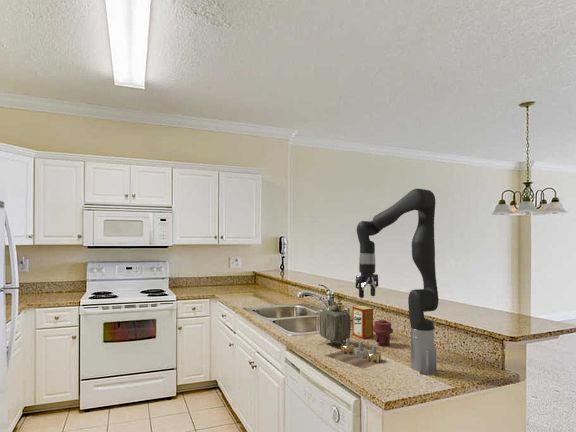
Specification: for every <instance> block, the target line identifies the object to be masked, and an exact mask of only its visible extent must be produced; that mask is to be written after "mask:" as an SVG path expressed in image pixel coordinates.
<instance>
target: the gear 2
mask: <svg viewBox="0 0 576 432" xmlns="http://www.w3.org/2000/svg"><path fill="white" fill-rule="evenodd" d="M381 359H382V352H378V351H376V354H372V350H371V351H368V352H367V361H370V362H372V363H373V362H376V363H378V364H380V363H379V362H381ZM381 363H382V362H381Z"/></svg>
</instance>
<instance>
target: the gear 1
mask: <svg viewBox="0 0 576 432" xmlns="http://www.w3.org/2000/svg"><path fill="white" fill-rule="evenodd" d="M343 342H344V344H341V345H340V351H341V352H342V353H343V354H354V349H355V348H356V347H355V345H354V344H351V343H350V346H346V340H344V341H343Z"/></svg>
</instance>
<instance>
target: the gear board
mask: <svg viewBox="0 0 576 432" xmlns="http://www.w3.org/2000/svg"><path fill="white" fill-rule="evenodd" d="M350 344H351V343H350V338H347V339H346V346H350ZM358 348H359V350H362V348H363V342H362V341H359V342H358ZM371 351H372V354H376V352H377V347H376V345H372V346H371ZM324 356H325V357H327V358H331V359H334V360H336V361H339V362H342V363H345V364H348V365H351V366H354V367H356V368H360V369H366V368H369V367H371V366H375V365H378V364H381V363H384V362H386V361H387V360H385V359H382V358H381V362H379V363H376V362H373V363H372V362H370V361H367V358H356V357H355V356H354V354H343V353H342V352H341V350H340V351H335V352H332V353H328V354H324Z"/></svg>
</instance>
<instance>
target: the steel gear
mask: <svg viewBox="0 0 576 432" xmlns="http://www.w3.org/2000/svg"><path fill="white" fill-rule="evenodd" d="M367 352H369V351H368V349H367V348H366V347H362V350H359V347H355V349H354V356H355V357H356V358H367Z"/></svg>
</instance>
